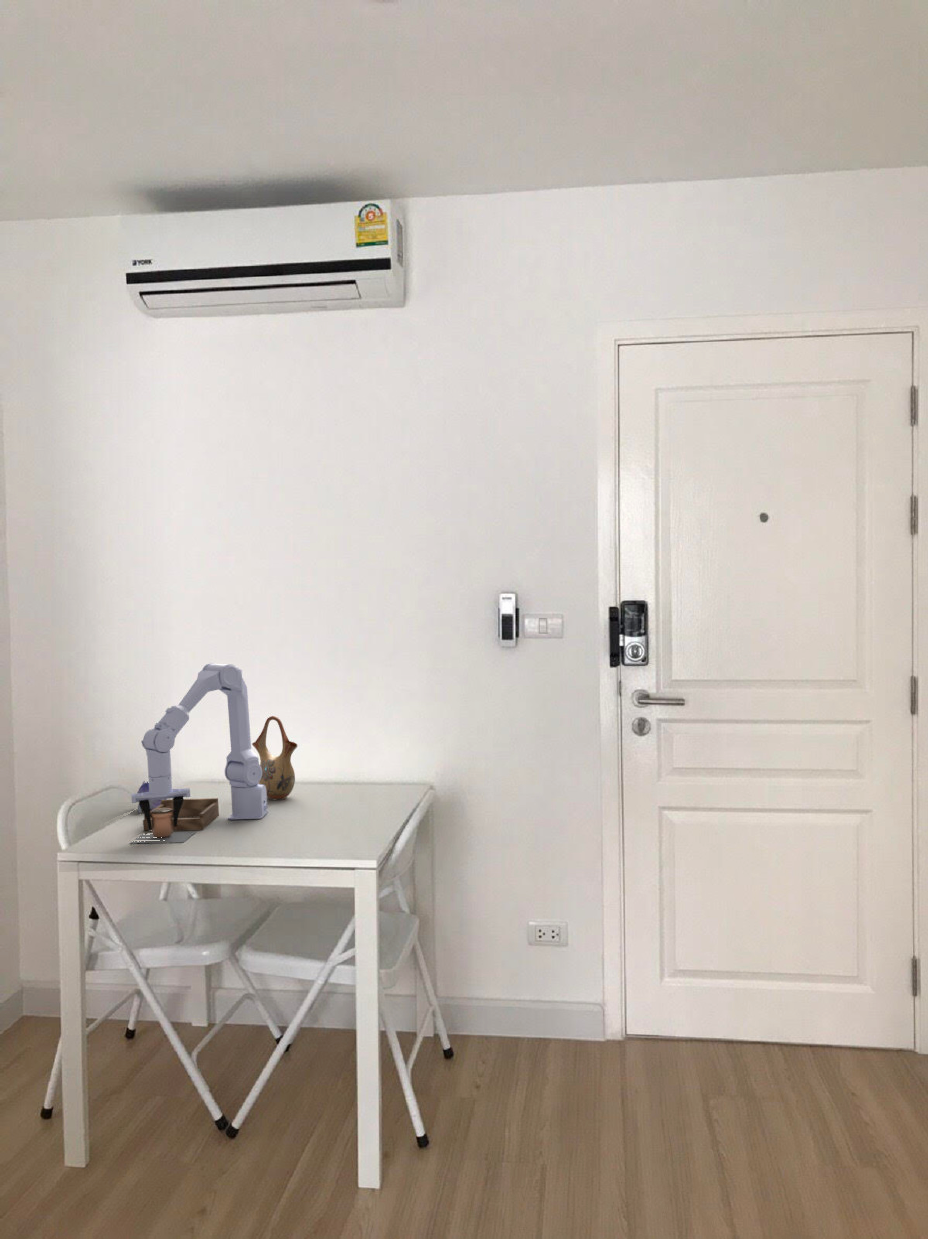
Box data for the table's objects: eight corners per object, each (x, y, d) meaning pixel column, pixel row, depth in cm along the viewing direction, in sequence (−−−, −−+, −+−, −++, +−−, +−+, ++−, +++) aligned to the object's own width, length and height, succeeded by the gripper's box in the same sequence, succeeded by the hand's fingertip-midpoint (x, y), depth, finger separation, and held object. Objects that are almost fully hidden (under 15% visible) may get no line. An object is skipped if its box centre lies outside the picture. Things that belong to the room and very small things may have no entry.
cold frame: (218, 815, 284) (218, 798, 283) (202, 829, 269) (201, 811, 269) (163, 817, 285) (162, 799, 284) (143, 831, 270) (142, 812, 269)
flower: (148, 793, 285) (156, 772, 294) (123, 806, 287) (132, 784, 296) (168, 816, 289) (175, 794, 298) (143, 827, 291) (151, 805, 300)
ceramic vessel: (308, 797, 303) (304, 714, 301) (289, 804, 295) (285, 719, 293) (265, 793, 310) (261, 712, 309) (246, 799, 303) (242, 717, 301)
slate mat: (195, 832, 266) (195, 831, 266) (183, 842, 256) (183, 842, 256) (143, 833, 267) (143, 832, 267) (129, 844, 257) (129, 843, 257)
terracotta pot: (173, 828, 266) (173, 806, 265) (174, 836, 261) (173, 813, 260) (150, 831, 264) (149, 808, 263) (151, 838, 259) (150, 815, 258)
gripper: (187, 769, 267) (190, 820, 268) (130, 775, 262) (132, 826, 263) (189, 774, 260) (192, 826, 261) (130, 780, 256) (133, 833, 256)
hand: (162, 827), depth 262 cm, fingers closed on terracotta pot, 6 cm apart
